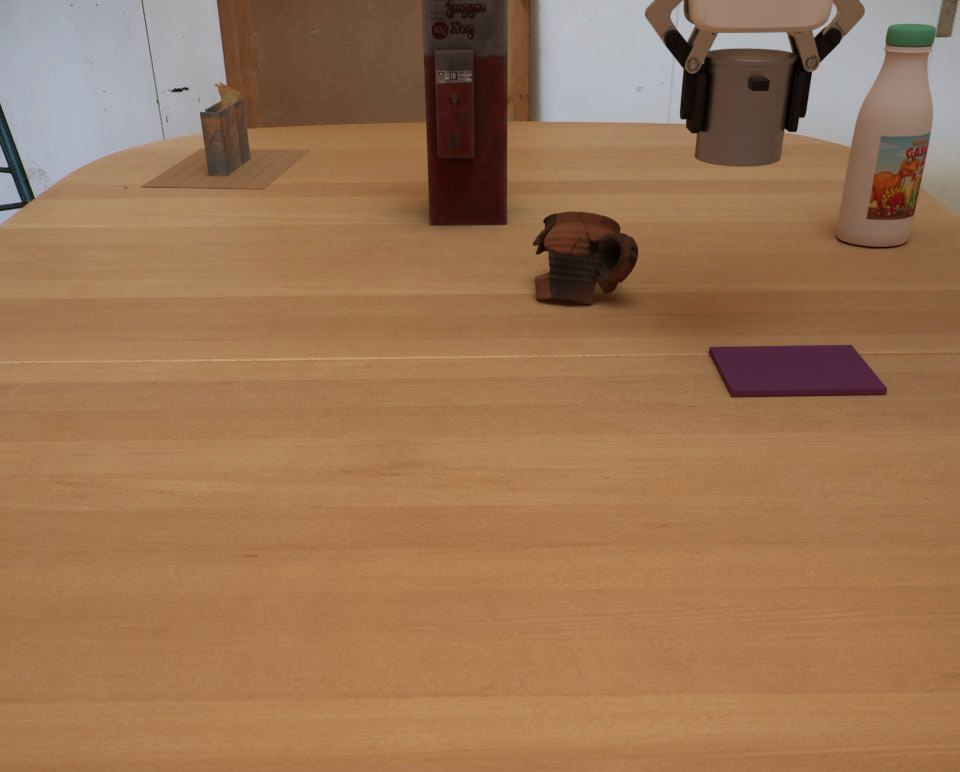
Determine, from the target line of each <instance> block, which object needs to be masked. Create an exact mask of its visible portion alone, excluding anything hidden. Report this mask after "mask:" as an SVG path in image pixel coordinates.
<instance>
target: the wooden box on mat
mask: <svg viewBox="0 0 960 772" xmlns="http://www.w3.org/2000/svg"><path fill="white" fill-rule="evenodd" d="M218 83H219V84H218ZM218 83H214V86H215V88H217V91H218V94H219V97H220V100H219V101H218V102H216V103H215V104H213V105H211V106H209V107H207V108H205V109H204V111H199V115H200V116H199V117H200V125H201V131H202V132H201V133H202V140H203V145H204V148H199V149H198V150H196V151H195V152H193V153H192V154H190V155H189V156H187V157H186V158H185V157H184V159H182V160H181V161H179V162H177V164H176V163H175V164H174V165H173V166H171V167H170V168H168V169H166V170H165V171H164V172H162V173H160V174H159V175H157V176H155V177H154V178H152V179H151V180H150V181H147V183H146V182H145V184H143V185H141V188H185V189H186V188H187V189H188V188H189V189H190V188H191V189H238V190H239V189H243V190H244V189H245V190H246V189H247V190H248V189H249V190H264V189H265V188H266V187H267V186H269V185H270V184H271V183H272V182H273V181H275V180H276V179H277V178H278V177H279V176H280V175H281V174H283V173H284V172H285V171H286V170H288V169H289V168H290V167H291V166H292V165H293V164H294V163H296V162H297V161H298V160H299V159H301V157H303V156H304V155H305V154H306V153H308V152H309V150H310V149H259V148H258V149H256V148H255V149H254V148H250V143H249V142H250V141H249V133H248V132H249V131H248V125H247V117H246V109H245V108H246V107H245V99H244V97H241V91H239V90H236V89H234V88H232V87H230V86H228V85H226V84H225V83H223V82H221V81H219V82H218Z"/></svg>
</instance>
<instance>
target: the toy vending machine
mask: <svg viewBox="0 0 960 772" xmlns="http://www.w3.org/2000/svg"><path fill="white" fill-rule="evenodd" d="M421 12H422V13H421V16H422V19H421V20H422V21H421V22H422V42H423V43H422V44H423V45H422V46H423V72H424V102H425V105H424V106H425V129H426V130H425V131H426V157H427V158H426V159H427V161H426V162H427V184H428V185H427V187H428V213H429V214H428V215H429V226H478V225H479V226H493V225H494V226H497V225H501V226H503V225H508V77H509V76H508V70H509V69H508V68H509V67H508V65H509V64H508V61H509V59H508V58H509V57H508V55H509V54H508V53H509V52H508V51H509V50H508V47H509V46H508V45H509V43H508V41H509V40H508V39H509V32H508V31H509V30H508V28H509V26H508V25H509V0H421Z"/></svg>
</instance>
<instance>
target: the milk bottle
mask: <svg viewBox="0 0 960 772" xmlns="http://www.w3.org/2000/svg"><path fill="white" fill-rule="evenodd" d="M936 32H937V28H936V26H935V25H931V24H924V23H895V24H890V25H889V26H888V28H887V30H886V36H885V45H884V48H883V50H884V53H885V55H884V60H883V63H882V65H881V68H880V70H879V73H878V74H877V76H876V78H875V80H874V82H873V84H872V86H871V87H870V89H869V90H868V93H867V94H866V96H865V98H864V99H863V101H862V104H861V106H860V108H859V110H858V114H857V117H856V120H855V125H854V131H853V135H852V139H851V145H850V149H849V150H850V151H849V154H848V155H849V156H848V161H847V165H846V166H847V167H846V172H845V178H844V184H843V189H842V195H841V201H840V207H839V212H838V219H837V225H836V226H837V227H836V237H837V239H839V240H840V241H842V242H845V243H848V244H851V245H856V246H862V247H863V246H864V247H877V248H881V247H896V246H899V245H900V246H901V245H903V244H905V243H906V242H907V241H908V239H909V238H910V235H911V231H912V227H913V226H912V225H913V221H914V218H915V214H916V209H917V203H918V199H919V194H920V189H921V184H922V180H923V175H924V170H925V165H926V161H927V155H928V150H929V145H930V140H931V134H932V129H933V128H932V127H933V121H934V120H933V119H934V105H933V98H932V92H931V87H930V83H929V73H928V62H929V61H928V60H929V56H930V53H932V52H933V45H934V43H935V39H936V34H937V33H936Z"/></svg>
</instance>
